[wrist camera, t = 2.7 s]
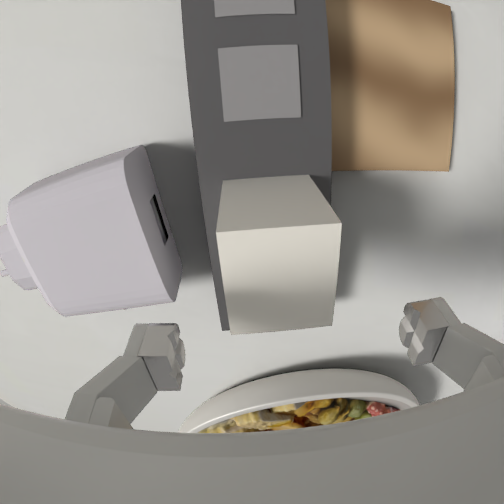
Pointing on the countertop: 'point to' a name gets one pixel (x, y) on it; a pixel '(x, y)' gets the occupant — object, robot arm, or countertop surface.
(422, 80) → the cork mat
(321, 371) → the bowl
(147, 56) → the countertop surface
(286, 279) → the charger
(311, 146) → the power strip
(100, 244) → the charger
